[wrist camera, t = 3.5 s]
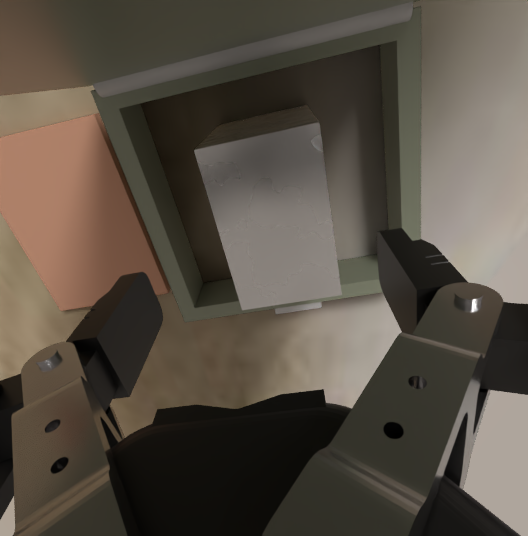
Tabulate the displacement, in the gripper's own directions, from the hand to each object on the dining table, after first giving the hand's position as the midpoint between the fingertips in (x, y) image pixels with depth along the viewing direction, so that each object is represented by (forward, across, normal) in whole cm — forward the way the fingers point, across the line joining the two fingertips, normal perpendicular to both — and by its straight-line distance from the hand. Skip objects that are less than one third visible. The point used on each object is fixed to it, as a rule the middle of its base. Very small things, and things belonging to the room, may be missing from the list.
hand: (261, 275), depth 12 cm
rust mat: (+11, +13, 0) cm, 17 cm away
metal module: (+11, -1, 0) cm, 11 cm away
